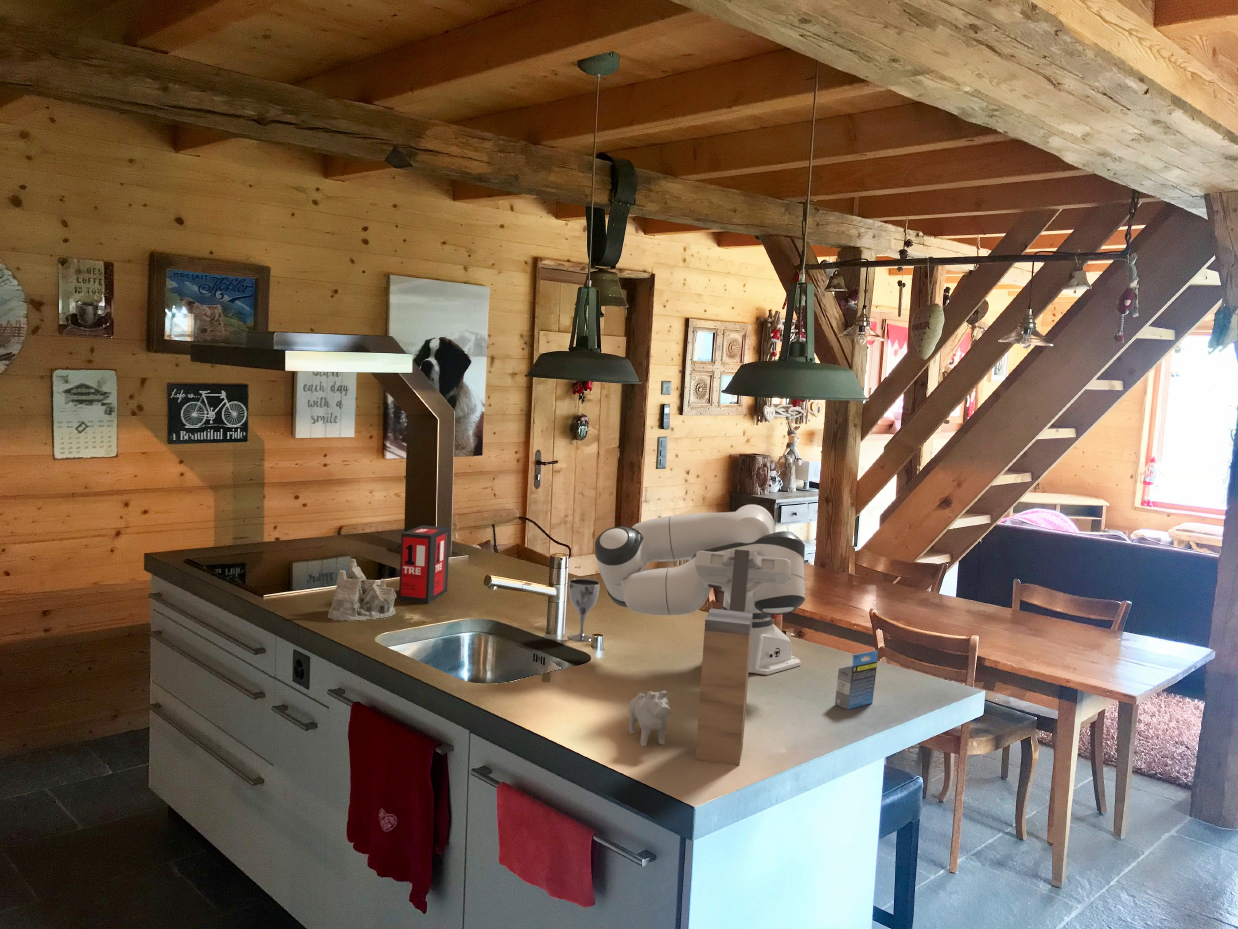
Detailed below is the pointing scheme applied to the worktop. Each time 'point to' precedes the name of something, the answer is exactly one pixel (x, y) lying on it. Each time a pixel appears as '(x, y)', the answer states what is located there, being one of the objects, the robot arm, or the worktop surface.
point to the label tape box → (857, 681)
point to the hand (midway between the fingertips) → (741, 554)
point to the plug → (739, 580)
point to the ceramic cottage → (361, 597)
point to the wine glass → (583, 602)
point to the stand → (724, 686)
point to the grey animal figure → (649, 715)
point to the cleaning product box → (424, 563)
